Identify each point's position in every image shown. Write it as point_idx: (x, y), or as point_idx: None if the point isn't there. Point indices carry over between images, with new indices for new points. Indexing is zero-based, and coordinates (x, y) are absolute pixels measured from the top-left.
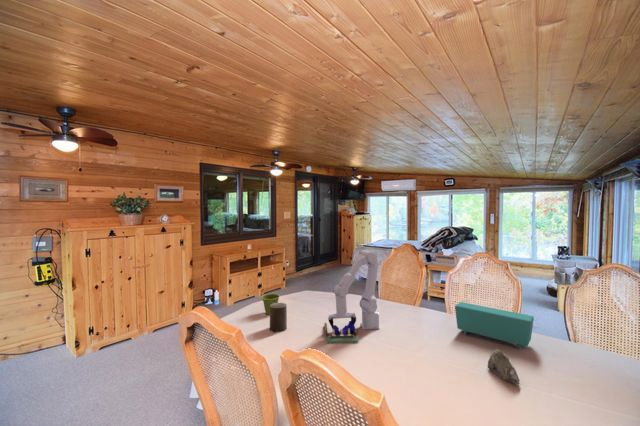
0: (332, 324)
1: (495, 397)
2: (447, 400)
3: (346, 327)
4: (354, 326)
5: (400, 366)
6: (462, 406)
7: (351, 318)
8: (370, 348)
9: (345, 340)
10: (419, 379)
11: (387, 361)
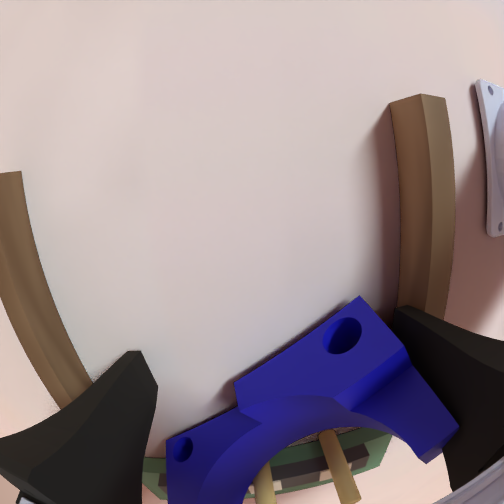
0: (128, 492)
1: None
2: (435, 499)
3: (339, 408)
4: (449, 274)
5: (433, 482)
6: (442, 496)
7: (482, 454)
8: (409, 463)
9: (292, 490)
10: (436, 490)
11: (417, 485)
